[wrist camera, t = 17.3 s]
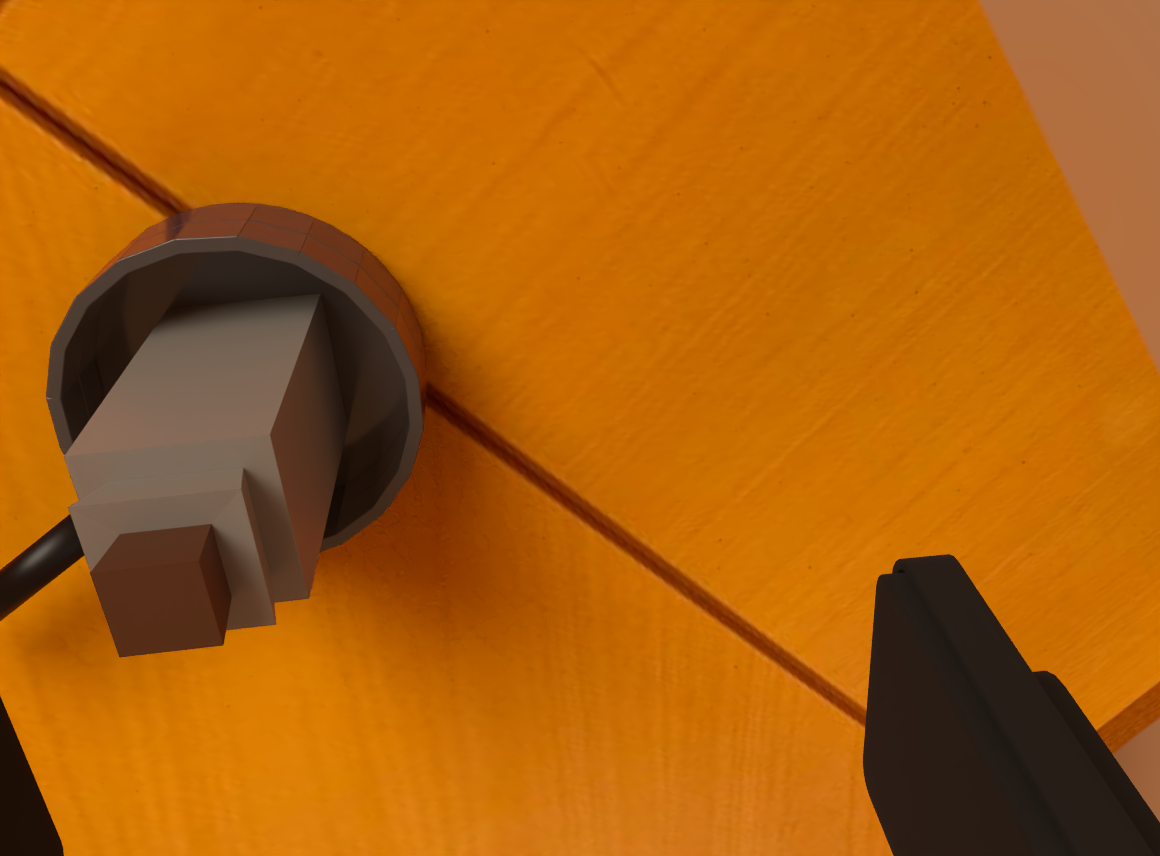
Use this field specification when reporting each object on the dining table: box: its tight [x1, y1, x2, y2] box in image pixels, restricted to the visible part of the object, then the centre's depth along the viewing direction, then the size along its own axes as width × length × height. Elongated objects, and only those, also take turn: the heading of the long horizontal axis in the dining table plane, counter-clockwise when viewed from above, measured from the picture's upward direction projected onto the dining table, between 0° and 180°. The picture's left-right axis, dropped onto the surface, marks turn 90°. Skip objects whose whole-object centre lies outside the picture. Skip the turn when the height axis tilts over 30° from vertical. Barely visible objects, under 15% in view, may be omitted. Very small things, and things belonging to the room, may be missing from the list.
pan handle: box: [0, 515, 85, 621], centre depth 49 cm, size 13×2×2 cm, turn 127°
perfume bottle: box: [64, 293, 348, 657], centre depth 41 cm, size 7×7×18 cm
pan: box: [46, 203, 427, 552], centre depth 47 cm, size 15×15×5 cm
